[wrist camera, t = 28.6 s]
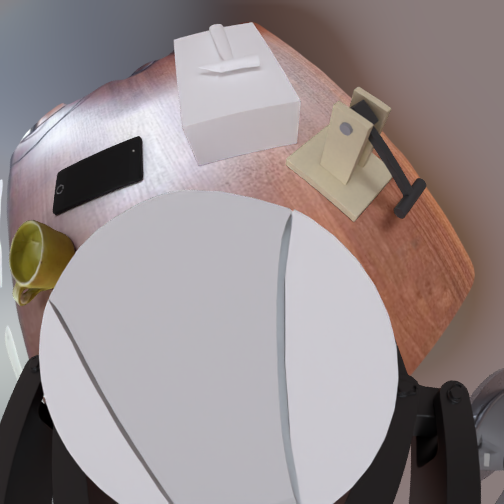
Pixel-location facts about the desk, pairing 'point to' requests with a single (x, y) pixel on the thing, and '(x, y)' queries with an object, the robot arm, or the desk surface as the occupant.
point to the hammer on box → (233, 94)
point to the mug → (37, 259)
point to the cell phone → (99, 174)
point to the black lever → (391, 164)
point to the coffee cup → (218, 355)
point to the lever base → (345, 157)
